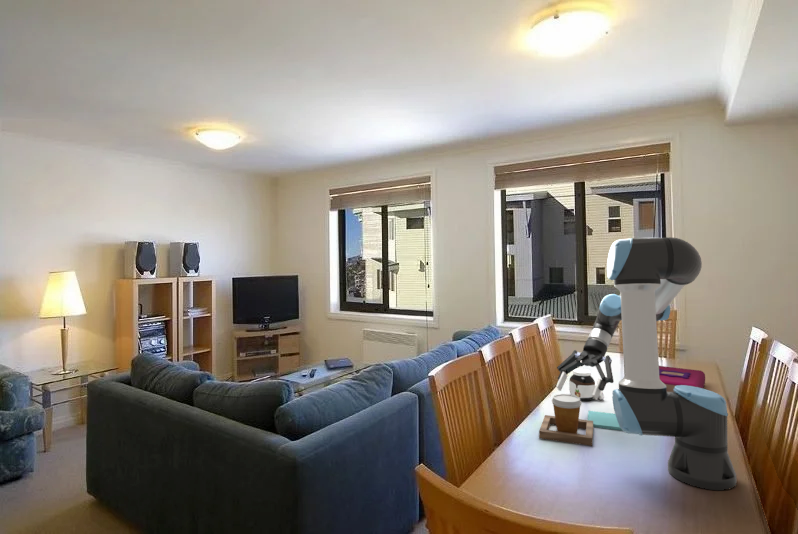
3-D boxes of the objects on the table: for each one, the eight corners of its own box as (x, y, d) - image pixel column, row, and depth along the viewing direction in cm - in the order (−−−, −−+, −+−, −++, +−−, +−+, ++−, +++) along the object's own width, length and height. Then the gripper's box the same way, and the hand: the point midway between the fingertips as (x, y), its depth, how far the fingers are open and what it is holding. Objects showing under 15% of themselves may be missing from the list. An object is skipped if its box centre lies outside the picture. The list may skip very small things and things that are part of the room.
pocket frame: (592, 446, 139) (592, 438, 139) (539, 438, 145) (539, 430, 145) (593, 428, 153) (593, 420, 153) (545, 421, 160) (545, 415, 160)
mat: (632, 431, 149) (632, 428, 149) (587, 426, 155) (587, 423, 155) (630, 418, 162) (630, 415, 162) (588, 413, 168) (588, 410, 168)
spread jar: (566, 396, 189) (566, 369, 189) (587, 392, 193) (586, 366, 193) (587, 404, 178) (587, 375, 178) (609, 400, 182) (608, 372, 181)
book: (705, 386, 200) (705, 369, 200) (699, 402, 178) (698, 383, 178) (652, 379, 213) (652, 363, 213) (640, 393, 191) (640, 376, 191)
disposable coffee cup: (574, 427, 154) (574, 393, 154) (587, 438, 145) (586, 401, 145) (547, 428, 154) (547, 394, 154) (558, 439, 144) (558, 402, 144)
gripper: (635, 355, 155) (615, 407, 146) (570, 345, 175) (549, 391, 166) (628, 342, 151) (606, 395, 143) (562, 333, 171) (540, 379, 162)
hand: (575, 392), depth 154 cm, fingers open, 13 cm apart
